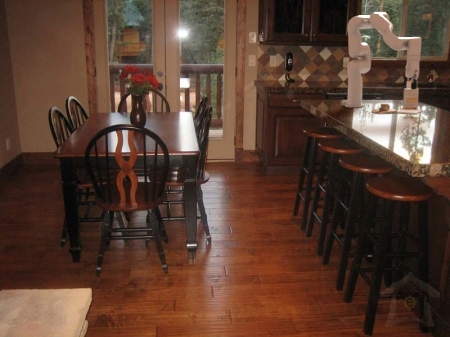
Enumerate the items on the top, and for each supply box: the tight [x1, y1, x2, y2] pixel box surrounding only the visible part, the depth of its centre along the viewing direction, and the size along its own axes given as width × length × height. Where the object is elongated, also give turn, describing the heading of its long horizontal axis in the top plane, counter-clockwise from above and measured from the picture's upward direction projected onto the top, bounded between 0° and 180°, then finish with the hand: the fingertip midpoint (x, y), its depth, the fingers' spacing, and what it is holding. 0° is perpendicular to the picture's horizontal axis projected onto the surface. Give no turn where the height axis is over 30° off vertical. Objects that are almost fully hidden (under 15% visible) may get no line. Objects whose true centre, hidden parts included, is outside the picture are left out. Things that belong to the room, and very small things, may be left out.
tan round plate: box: [371, 103, 398, 115], centre depth 293 cm, size 15×15×5 cm
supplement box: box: [402, 87, 420, 110], centre depth 301 cm, size 8×5×13 cm, turn 84°
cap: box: [406, 80, 412, 88], centre depth 283 cm, size 6×6×5 cm
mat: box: [396, 108, 424, 115], centre depth 288 cm, size 12×12×1 cm
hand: (411, 88), depth 284 cm, fingers closed on cap, 6 cm apart
